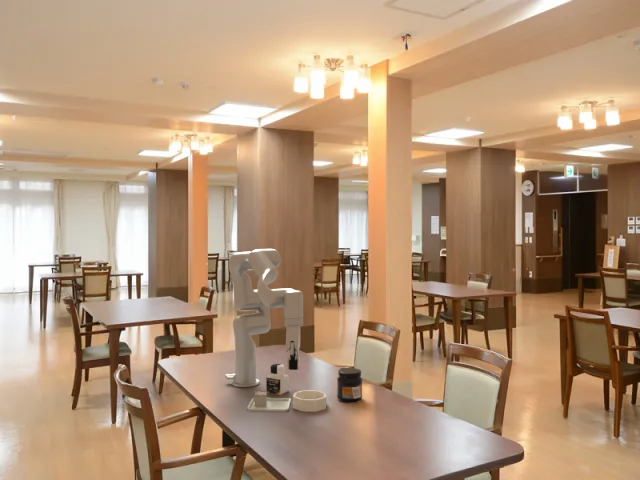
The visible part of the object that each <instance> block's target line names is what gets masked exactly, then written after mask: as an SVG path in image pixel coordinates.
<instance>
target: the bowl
mask: <svg viewBox="0 0 640 480" xmlns="http://www.w3.org/2000/svg"><path fill="white" fill-rule="evenodd" d="M292 409H295V410H296V411H297V410H298V411H300V412H303V413H304V412H305V413H306V412H311V413H313V412H315V413H316V412H319V411H323V410H326V409H327V393H326V392H323V391H320V390H318V389H317V390H316V389H315V390H313V389H310V390H309V389H302V390H300V391H299V390H298V391H296V392H295V391H294V392H293V395H292Z"/></svg>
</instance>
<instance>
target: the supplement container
mask: <svg viewBox="0 0 640 480" xmlns="http://www.w3.org/2000/svg"><path fill="white" fill-rule="evenodd" d="M337 372H338V373H337V375H338V376H337V378H336V382H337V383H336V386H337V388H336V389H337V390H336V391H337V392H336V394H337V395H336V398H337V399H338V400H339V401H340V402H342V403H357V402H360V401H361V400H362V399H363V378H362V370H361V369H359V368H357V367H356V368H355V367H344V368H340V369H339V370H337Z"/></svg>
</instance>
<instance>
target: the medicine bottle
mask: <svg viewBox="0 0 640 480" xmlns="http://www.w3.org/2000/svg"><path fill="white" fill-rule="evenodd" d="M285 367H286V366H285V365H284V364H282V363H274V364H271V365H270V375H267V376H266V381H265V383H266V386H265V387H266V388H265V389H266V391H265V392H267V394H273V395H278V396H279V395H283V394H285V393H287V392H289V385H290V384H289V379H290V378H289V375H288V374H285V373H286V372H285V371H286V370H285V369H286V368H285Z"/></svg>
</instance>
